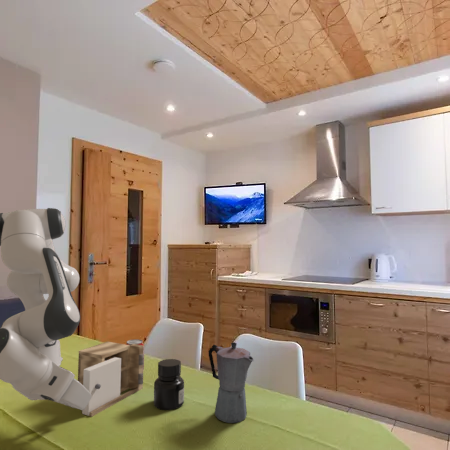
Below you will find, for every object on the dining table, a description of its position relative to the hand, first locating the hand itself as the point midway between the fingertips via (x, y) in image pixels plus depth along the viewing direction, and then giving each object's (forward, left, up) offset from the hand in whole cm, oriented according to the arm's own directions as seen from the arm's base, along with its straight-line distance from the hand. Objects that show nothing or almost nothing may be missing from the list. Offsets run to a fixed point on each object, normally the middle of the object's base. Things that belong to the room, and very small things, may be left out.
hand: (72, 403), depth 89 cm
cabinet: (-4, +15, -5) cm, 16 cm away
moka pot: (+35, +23, -5) cm, 42 cm away
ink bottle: (+16, +21, -5) cm, 27 cm away
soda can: (-9, +34, -5) cm, 35 cm away
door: (0, +10, -5) cm, 11 cm away
